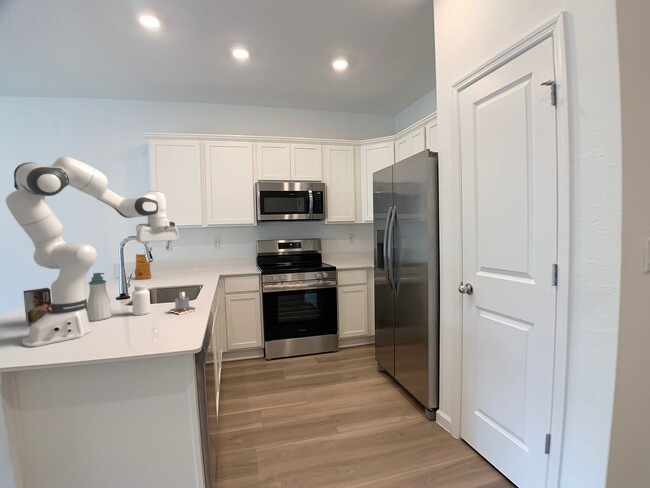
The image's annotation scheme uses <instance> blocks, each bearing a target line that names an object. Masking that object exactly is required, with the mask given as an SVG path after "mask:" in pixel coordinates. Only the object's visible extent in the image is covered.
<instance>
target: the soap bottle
mask: <svg viewBox="0 0 650 488" xmlns="http://www.w3.org/2000/svg"><path fill="white" fill-rule="evenodd" d="M92 275H93V276H92V277H91V281H89V282H88V285H89V294H88V298H87V299H88V300H87V307H88V309H87V316H88V320H89V322H96V321H97V322H99V321H103V320H104V321H105V320H107V319H109V318H111V317H112V304H111V300H110V296H109V294H108V292H107V287H106V286H107V280H104V277H103V276H102V275H105V272H94V273H93V274H92Z"/></svg>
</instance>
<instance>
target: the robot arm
mask: <svg viewBox="0 0 650 488" xmlns="http://www.w3.org/2000/svg"><path fill="white" fill-rule="evenodd" d="M13 179H14V180H13V181H14V182H13V183H14V184H13V185H14V186H13V187H14V188H15V189H16V190H14V191H12V192H10V193H9V194H8V195H7V196H6V197H5V204H6V206H7V208H8V210H9V212H10V214H11V215H12V217H13V218H14V220H15V221H16V222H17V224H18V225H19V226H20V227H21V228H22V229H23V231H24V232H25V233H26V235H27V236H28V237H29V239H30V240H31V242H32V243H33V246H34V248H35V250H34V253H33V260H34V262H35V264H36V265H38V266H40V267H43V268H47V269H50V270H59V273H58V276H57V278H56V279H55V280H54V281H53V282H52V284H51V285H50V293H51V304H50V305H47V304H45V305H43V306H42V308H43V309H45V310H46V312H47V314H45V315H44V316H43V317H42V318H40V319H39V320H38V321H36V322H35V323H34V324H33V325H31V326H30V328H29V331H28V336H27V337H24V338H23V339H22V340H21V345H23V346H24V347H28V348H29V347H31V348H32V347H39V346H41V347H42V346H45V345H50V344H54V343H60V342H64V341H70V340H75V339H79V338H82V337H84V336H85V335H87V334H88V333H91V332H92V331H93V328H92V326H91V324H90V321H89V320H88V316H87V309H88V307H87V302H88V300H87V299H88V298H86V284H85V283H86V277H87V275H88V272H89V270H90V268H91V267H92V266H94V265H95V264H96V262H97V260H98V252H97V250H96V248H95V247H94V246H92V245H90V244H86V243H82V242H81V243H80V242H67V241H65V240H64V238H63V236H62V234H63V232H64V229H65V228H64V225H63V223H62V222H61V221H60V220H59V218H58V217H57V215H56V214H55V213H54V211H53V210H52V209H51V207H50V206H49V205H48V203H47V201H46V197H52V196H56V195H58V194H59V193H61V192H62V191H63V190H64V189H65V188H66V187H67V186H69V187H72V188H74V189H76V190H78V191H80V192H82V193H84V194H86V195H89V196H91V197H93V198H95V199H97V200H98V201H100V202H102V203H104V204H106V205H108V206H110V207H111V208H112V209H114V210H115V211H116V212H117V214H119V215H120V216H122V217H123V218H126V219H131V218H132V219H133V218H141V217H147V223H138V224H137V225H136V226H135V228H136V229H135V230H136V237H135V238H136V242H137V243H144V245H145V247H146V249H147V252H151V251H153V247H151V246H150V243H151V242H152V243H153V242H154V243H155V242H167V246H165V250H171V246H172V244H173V241H178V240H179V239H180V234H179V228H178V227H177V226H178V224H177V222H176V221H172V220H169V219H168V216H167V200H166V196H165V194H164V193H163V192H162V191H161V192H160V191H157V190H148V191H147V192H146V193H145V194H143V195H139V196H135V197H125V196H120V195H119V194H117V193H115V192H114V191H112V190H110V189H109V188H108V186H109V180H108V178H107V176H106V175H105V174H104V173H102V172H101V171H100V170H98V169H96V168H95V167H93V166H92V165H89V164H87V163H85V162H82V161H81V160H78V159H76V158H72V157H70V156H61V157H58V158H57V159H56V160H55V161H54V162H53V163H52V164H51V165H44V164H41V163H36V162H32V161H31V162H23V163H21V164H18V165H17V166H16V167H15V168H14V172H13Z"/></svg>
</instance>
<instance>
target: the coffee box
mask: <svg viewBox="0 0 650 488" xmlns="http://www.w3.org/2000/svg"><path fill="white" fill-rule="evenodd" d="M23 302H24V313H25V322H26V323H25V324H26V325H27V326H28V327H31V326H32V325H33V324H34V323H35V322H36V321H38V320H39V319H40V318H42V317H43V316H44V315H45V314H47V312H46V310H45V309H43V308H42V306H43V305H45V304H47V305H50V304H51V303H52V293H51V288H49V287H43V288H35V289H28V290H23Z"/></svg>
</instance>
